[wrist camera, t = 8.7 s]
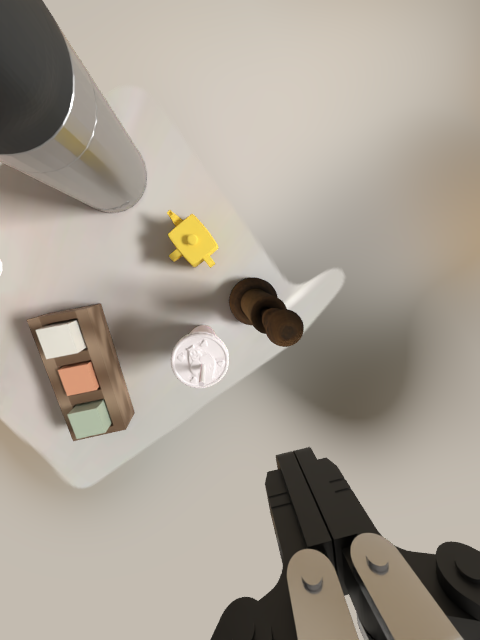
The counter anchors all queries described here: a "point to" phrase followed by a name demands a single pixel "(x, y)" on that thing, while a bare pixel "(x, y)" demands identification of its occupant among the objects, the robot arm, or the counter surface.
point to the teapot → (191, 240)
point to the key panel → (103, 362)
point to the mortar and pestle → (265, 311)
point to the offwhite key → (61, 339)
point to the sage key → (90, 418)
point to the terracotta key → (79, 377)
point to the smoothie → (200, 358)
